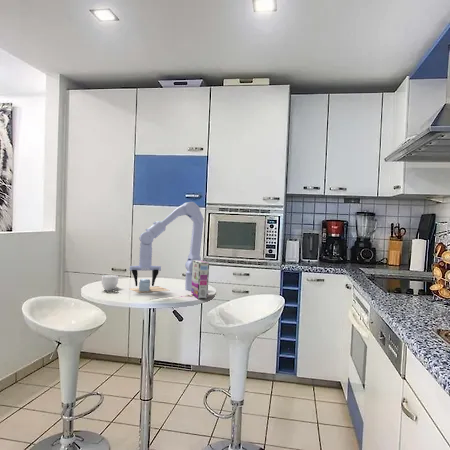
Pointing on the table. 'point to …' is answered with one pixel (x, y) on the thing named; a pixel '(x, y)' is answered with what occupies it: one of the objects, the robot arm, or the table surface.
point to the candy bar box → (200, 279)
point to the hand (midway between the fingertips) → (144, 285)
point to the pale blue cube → (144, 285)
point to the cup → (109, 282)
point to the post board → (152, 289)
